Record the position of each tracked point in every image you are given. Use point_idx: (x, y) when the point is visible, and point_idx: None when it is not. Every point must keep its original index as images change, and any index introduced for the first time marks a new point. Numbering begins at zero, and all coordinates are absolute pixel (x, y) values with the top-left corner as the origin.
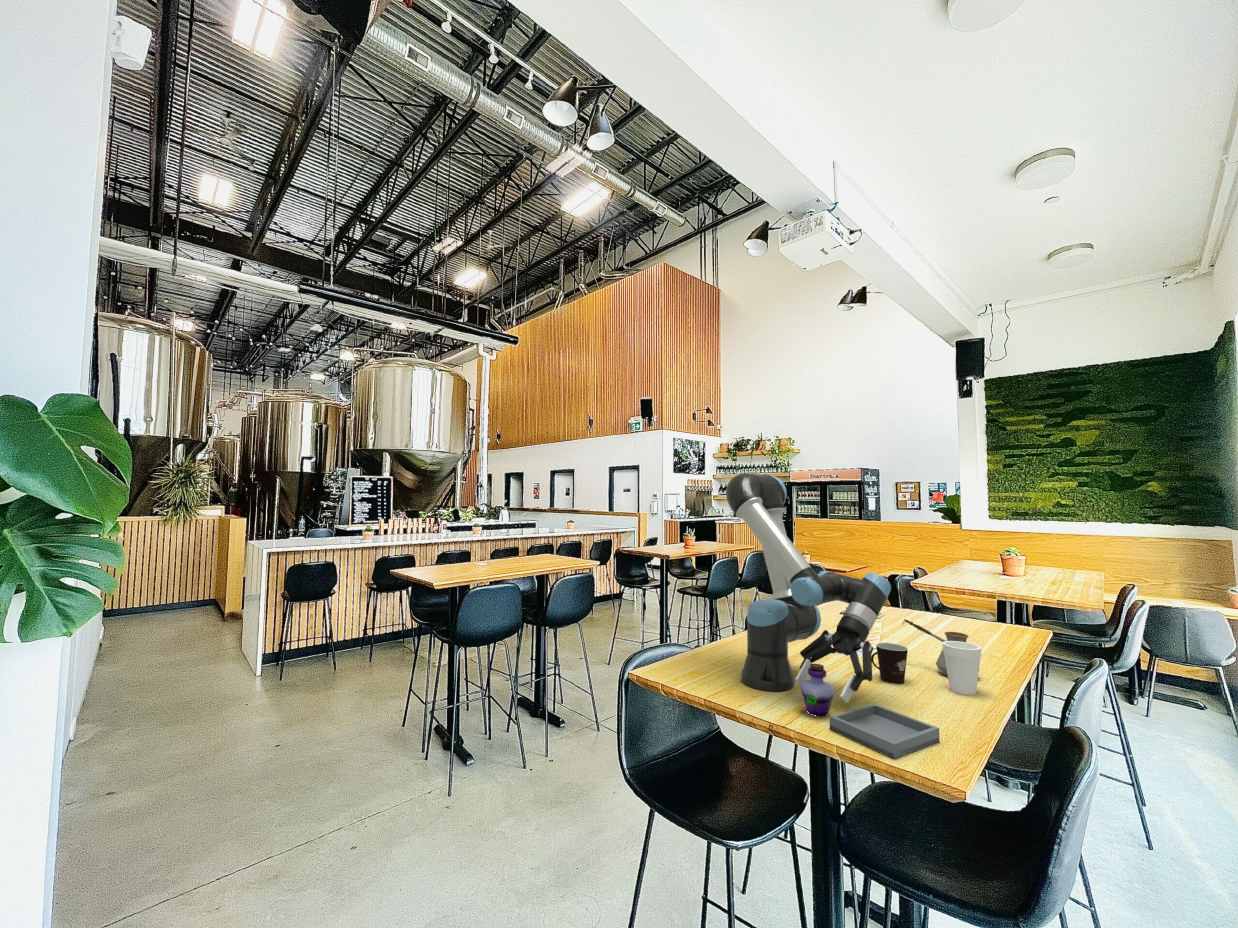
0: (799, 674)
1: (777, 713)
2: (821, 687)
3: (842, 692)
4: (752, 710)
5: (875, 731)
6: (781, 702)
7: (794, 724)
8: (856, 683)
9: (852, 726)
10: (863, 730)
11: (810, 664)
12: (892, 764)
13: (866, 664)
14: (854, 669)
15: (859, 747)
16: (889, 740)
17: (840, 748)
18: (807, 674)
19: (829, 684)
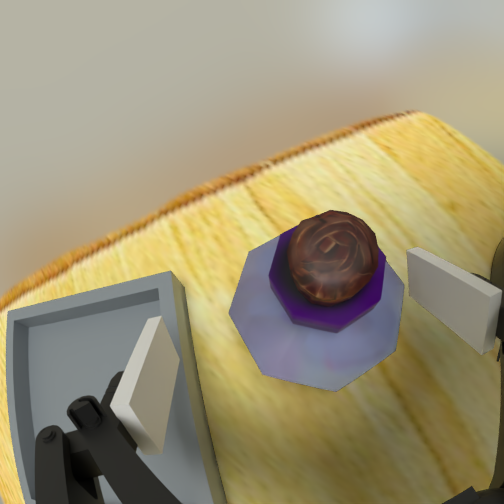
0: (426, 258)
1: (327, 204)
2: (261, 283)
3: (153, 325)
4: (354, 158)
5: (99, 385)
6: None
7: (244, 210)
8: (106, 391)
9: (94, 291)
10: (66, 299)
11: (356, 217)
12: (23, 299)
13: (42, 485)
14: (119, 435)
15: (83, 289)
16: (18, 318)
17: (99, 243)
18: (442, 315)
19: (295, 358)
